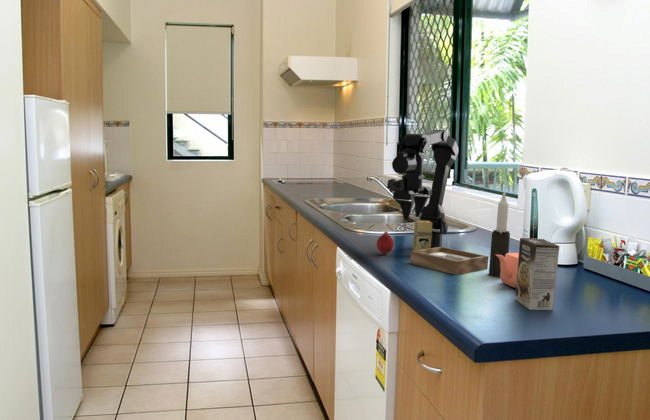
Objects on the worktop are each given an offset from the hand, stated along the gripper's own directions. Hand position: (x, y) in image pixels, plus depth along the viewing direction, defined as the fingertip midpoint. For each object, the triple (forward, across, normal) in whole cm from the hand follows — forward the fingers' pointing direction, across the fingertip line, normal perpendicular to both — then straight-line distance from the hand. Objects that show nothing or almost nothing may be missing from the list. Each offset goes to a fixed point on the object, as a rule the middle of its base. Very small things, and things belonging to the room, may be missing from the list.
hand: (411, 218), depth 205 cm
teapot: (+13, +17, +41) cm, 47 cm away
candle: (+13, +7, +32) cm, 35 cm away
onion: (+13, +4, -8) cm, 16 cm away
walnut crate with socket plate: (+13, +5, +16) cm, 21 cm away
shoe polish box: (+13, -3, +3) cm, 14 cm away
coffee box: (+12, +34, +49) cm, 61 cm away
